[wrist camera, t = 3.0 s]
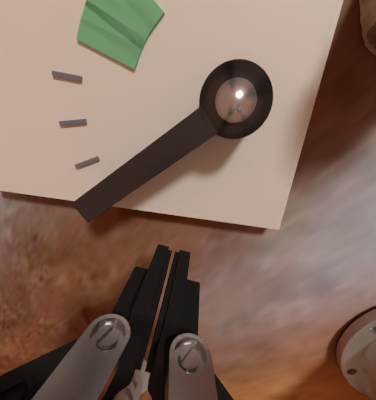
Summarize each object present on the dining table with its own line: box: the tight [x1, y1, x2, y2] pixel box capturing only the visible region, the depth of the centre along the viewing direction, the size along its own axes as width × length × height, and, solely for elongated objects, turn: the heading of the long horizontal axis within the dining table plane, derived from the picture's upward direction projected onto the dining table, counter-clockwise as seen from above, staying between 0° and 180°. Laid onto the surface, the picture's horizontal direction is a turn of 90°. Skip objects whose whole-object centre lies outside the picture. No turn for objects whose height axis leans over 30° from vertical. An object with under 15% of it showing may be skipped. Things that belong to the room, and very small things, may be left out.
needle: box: [72, 59, 273, 222], centre depth 12 cm, size 13×4×3 cm, turn 124°
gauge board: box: [0, 0, 343, 230], centre depth 14 cm, size 16×24×2 cm, turn 84°
